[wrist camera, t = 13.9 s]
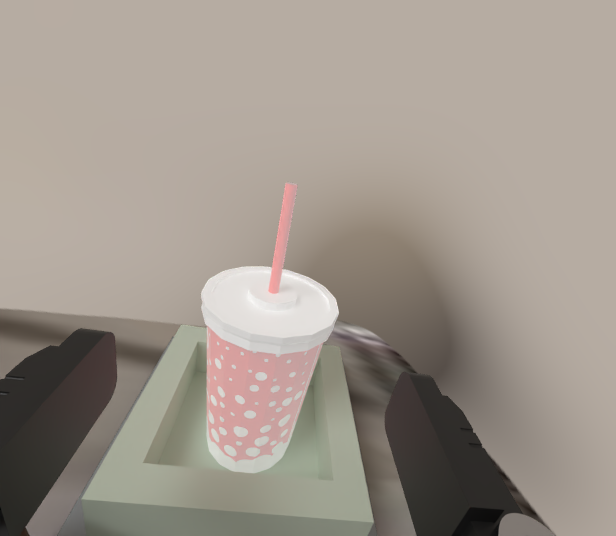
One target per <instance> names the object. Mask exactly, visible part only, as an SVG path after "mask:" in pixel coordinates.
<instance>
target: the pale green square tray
mask: <svg viewBox="0 0 616 536" xmlns="http://www.w3.org/2000/svg"><path fill="white" fill-rule="evenodd" d="M57 536H377V531H376V526H375V521H374V516H373V511H372V506H371V501H370V496H369V491H368V486H367V481H366V476H365V471H364V466H363V461H362V456H361V451H360V446H359V440H358V435H357V430H356V425H355V420H354V415H353V410H352V405H351V400H350V395H349V390H348V385H347V380H346V375H345V370H344V365H343V360H342V357H341V352H340V347H337V346H330V345H322V348H321V351H320V354H319V357H318V360H317V363H316V366H315V369H314V372H313V374H312V377H311V380H310V383H309V386H308V389H307V392H306V395H305V398H304V401H303V404H302V407H301V410H300V413H299V416H298V419H297V422H296V424H295V427H294V430H293V433H292V436H291V439H290V442H289V445H288V447H287V449H286V451H285V453H284V455H283V457H282V458H281V459H280V460H279V461H278V462H277V463H275V464H274V465H273V466H272V467H271V468H269V469H266V470H263V471H260V472H256V473H245V472H235V471H231V470H229V469H227V468H226V467H224V466H222V465H220V464H219V463H218V462H217V461H216V459H215V458H214V457H213V455H212V454H211V453H210V451H209V447H208V441H207V328H203V327H196V326H189V325H182V324H181V326H180V328H179V330H178V331H177V333H176V335H175V337H172V339H171V341H170V342H169V344H168V346H167V347H166V349H165V351H164V353H163V354H162V356H161V358H160V359H159V361H158V363H157V365H156V366H155V368H154V370H153V371H152V373H151V375H150V377H149V378H148V380H147V382H146V384H145V385H144V387H143V389H142V390H141V392H140V394H139V396H138V397H137V399H136V401H135V402H134V404H133V406H132V408H131V409H130V411H129V413H128V414H127V416H126V418H125V420H124V421H123V423H122V425H121V427H120V428H119V430H118V432H117V433H116V435H115V437H114V439H113V440H112V442H111V444H110V445H109V447H108V449H107V451H106V452H105V454H104V456H103V457H102V459H101V461H100V463H99V464H98V466H97V468H96V469H95V471H94V473H93V475H92V476H91V478H90V480H89V482H88V483H87V485H86V487H85V488H84V490H83V492H82V494H81V495H80V497H79V499H78V500H77V502H76V504H75V506H74V507H73V509H72V511H71V512H70V514H69V516H68V518H67V519H66V521H65V523H64V525H63V526H62V528H61V530H60V531H59V533H58V535H57Z"/></svg>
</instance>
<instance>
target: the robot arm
mask: <svg viewBox="0 0 616 536" xmlns="http://www.w3.org/2000/svg"><path fill="white" fill-rule="evenodd" d="M116 382H117V365H116V347H115V336H114V334H113V333H111V332H105V331H98V330H90V329H82V328H80V329H78V330H76V331H75V332H73V333H72V334H71V335H70V336H69V337H68V338H67V339H66V340H65V341H64V342H63V343H62V344H61V345H60V346H59V347H58V346H49V347H47V348H45V349H43V350H41V351H39V352H37V353H35V354H33V355H31V356H29V357H27V358H25V359H24V360H23V361H22V362H21V363H19V364H18V365H17V366H16V367H15V368H14V369H13V370H11V371H10V372H9V373H8V374H7V375H6V377H5V379H1V380H0V536H19V535H20V534H21V532H22V531H23V529H24V528H25V527H26V525H27V524H28V522H29V521H30V519H31V518H32V516H33V515H34V513H35V512H36V510H37V509H38V507H39V506H40V504H41V503H42V501H43V500H44V498H45V497H46V495H47V494H48V492H49V491H50V489H51V488H52V486H53V485H54V483H55V482H56V480H57V479H58V477H59V476H60V474H61V473H62V471H63V470H64V468H65V467H66V465H67V464H68V462H69V461H70V459H71V458H72V456H73V455H74V453H75V452H76V450H77V449H78V447H79V446H80V444H81V443H82V441H83V440H84V438H85V437H86V435H87V434H88V432H89V431H90V429H91V428H92V426H93V425H94V423H95V422H96V420H97V419H98V417H99V416H100V414H101V413H102V412H103V410H104V409H105V407H106V406H107V404H108V403H109V401H110V399H111V397H112V395H113V393H114V390H115V387H116ZM385 430H386V434H387V437H388V441H389V444H390V447H391V451H392V454H393V457H394V461H395V464H396V467H397V471H398V474H399V478H400V481H401V484H402V488H403V491H404V494H405V498H406V501H407V504H408V508H409V511H410V514H411V518H412V521H413V524H414V528H415V531H416V534H417V536H555V535H554V534H553V533H552V532H551V531H550V530H549V529H548V528H546V527H545V526H544V525H542V524H541V523H539V522H538V521H536V520H534V519H533V518H531V517H528V516H526V515H523V513H522V512H521V510H520V508H519V507H518V505H517V503H516V502H515V500H514V498H513V496H512V495H511V493H510V491H509V490H508V488H507V486H506V485H505V483H504V481H503V479H502V478H501V476H500V474H499V473H498V471H497V469H496V468H495V466H494V464H493V462H492V461H491V459H490V457H489V456H488V454H487V452H486V451H485V449H484V448H482V444H481V442H480V440H479V439H478V437H477V435H476V434H475V433H473V429H472V427H471V425H470V423H469V422H468V420H467V418H466V417H465V415H464V413H463V412H462V411H461V409H460V408H459V407H458V406H457V405H456V404H455V403H454V402H453V401H452V400H451V399H450V398H449V397H448V396H443V395H442V394H441V392H440V390H439V389H438V387H437V385H436V383H435V381H434V380H433V378H432V377H431V376H429V375H424V374H417V373H409V372H403V373H402V374H401V375H400V377H399V379H398V381H397V384H396V386H395V389H394V391H393V394H392V396H391V399H390V401H389V404H388V406H387V409H386V413H385Z"/></svg>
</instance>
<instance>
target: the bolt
mask: <svg viewBox="0 0 616 536" xmlns="http://www.w3.org/2000/svg"><path fill="white" fill-rule="evenodd" d="M19 536H30V535H29V534H28V532H27V530H26V528H24V529H23V531H22V532H21V534H20V535H19Z"/></svg>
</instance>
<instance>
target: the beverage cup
mask: <svg viewBox="0 0 616 536" xmlns="http://www.w3.org/2000/svg"><path fill="white" fill-rule="evenodd" d="M296 191H297V184H295V183H291V182H286V186H285V191H284V198H283V204H282V210H281V216H280V222H279V228H278V234H277V240H276V247H275V253H274V259H273V265H272V267H266V266H264V267H262V266H257V267H239V268H234V269H230V270H225V271H222V272H221V273H219V274H217V275H215V276H213V277H212V278H210V279H208V281H207V283H206V285H205V286H204V288H203V290H202V292H201V299H202V302H203V303H202V306H201V309H202V313H203V317H204V321H205V324H206V325H207V441H208V447H209V451H210V453H211V454H212V455H213V457H214V458H215V459H216V461H217V462H218V463H219V464H220V465H222V466H224V467H226V468H227V469H229V470H231V471H235V472H245V473H256V472H260V471H263V470H266V469H269V468H271V467H272V466H273V465H274V464H275V463H277V462H278V461H279V460H280V459H281V458H282V457H283V455H284V453H285V451H286V449H287V447H288V445H289V442H290V439H291V436H292V433H293V430H294V427H295V424H296V422H297V419H298V416H299V413H300V410H301V407H302V404H303V401H304V398H305V395H306V392H307V389H308V386H309V383H310V380H311V377H312V374H313V372H314V369H315V366H316V363H317V360H318V357H319V354H320V351H321V348H322V345H323V342H325V341H327V339H328V337H329V335H330V334H331V332H332V330H333V328H334V323H335V321H336V319H337V317H338V314H339V311H338V307H337V302H336V299H335V297H334V296H333V295H332V294H331V293H330V292H329V291H328V290H327V289H326V288H325V287H324V286H322V285H321V284H319V283H317V282H315V281H314V280H312V279H311V278H309V277H307V276H303V275H301V274H298V273H295V272H292V271H289V270H284V269H283V265H284V259H285V253H286V248H287V242H288V236H289V230H290V225H291V220H292V214H293V208H294V203H295V197H296Z"/></svg>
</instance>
